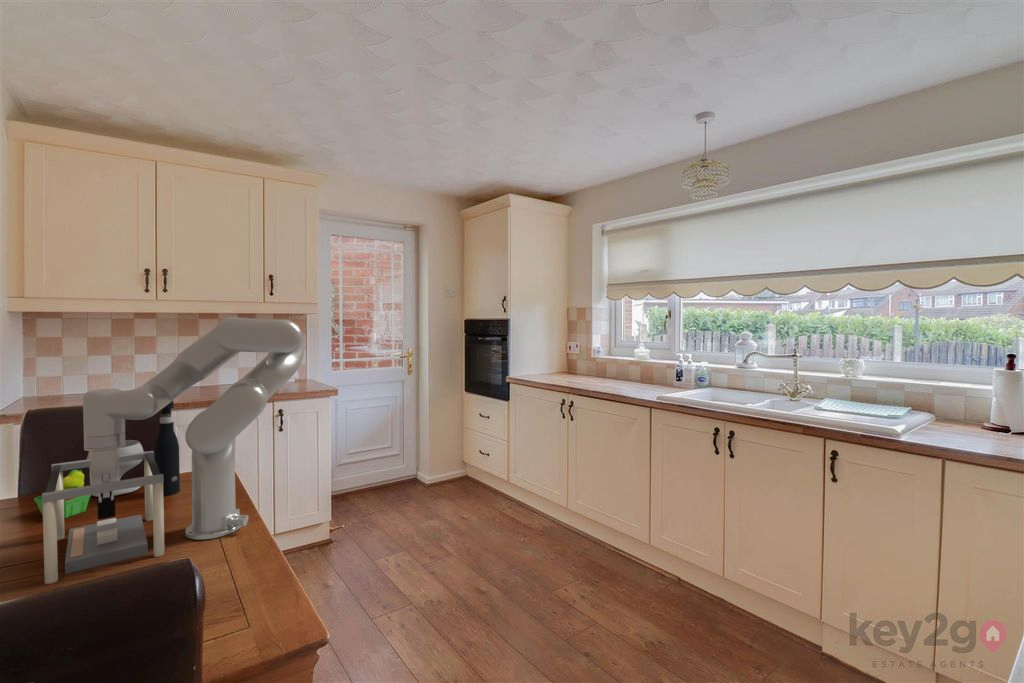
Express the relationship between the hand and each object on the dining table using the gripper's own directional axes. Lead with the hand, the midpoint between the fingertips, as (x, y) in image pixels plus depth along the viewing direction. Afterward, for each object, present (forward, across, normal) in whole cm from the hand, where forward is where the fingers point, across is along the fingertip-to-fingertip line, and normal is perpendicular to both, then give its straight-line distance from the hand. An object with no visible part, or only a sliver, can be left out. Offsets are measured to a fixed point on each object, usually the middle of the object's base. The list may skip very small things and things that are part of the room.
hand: (106, 516), depth 114 cm
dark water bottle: (+7, -35, +15) cm, 38 cm away
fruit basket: (+7, -34, -8) cm, 36 cm away
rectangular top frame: (-10, 0, 0) cm, 10 cm away
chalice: (+7, -47, +3) cm, 47 cm away
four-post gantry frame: (+7, 0, 0) cm, 7 cm away
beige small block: (+5, -4, 0) cm, 6 cm away
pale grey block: (+5, +4, 0) cm, 6 cm away
